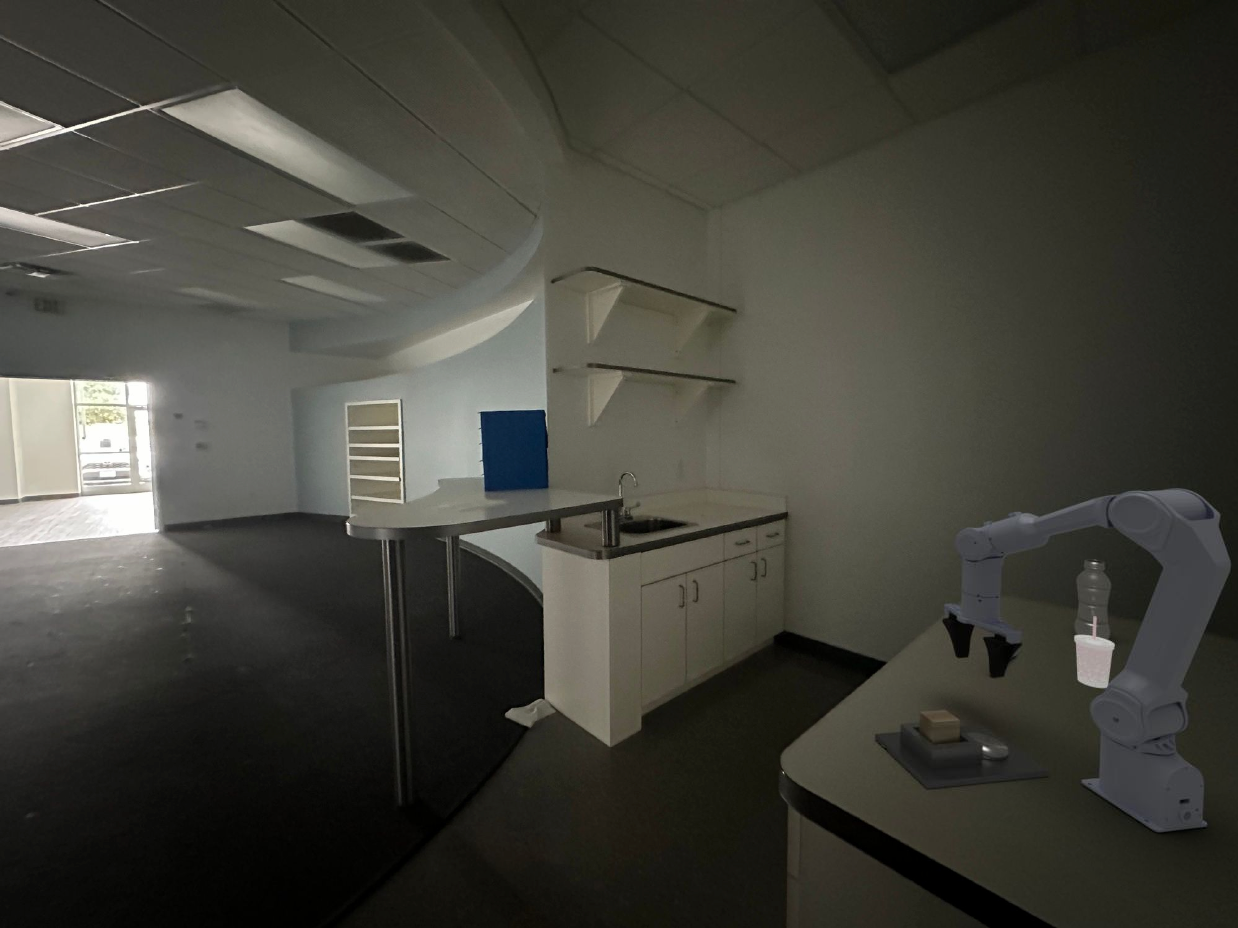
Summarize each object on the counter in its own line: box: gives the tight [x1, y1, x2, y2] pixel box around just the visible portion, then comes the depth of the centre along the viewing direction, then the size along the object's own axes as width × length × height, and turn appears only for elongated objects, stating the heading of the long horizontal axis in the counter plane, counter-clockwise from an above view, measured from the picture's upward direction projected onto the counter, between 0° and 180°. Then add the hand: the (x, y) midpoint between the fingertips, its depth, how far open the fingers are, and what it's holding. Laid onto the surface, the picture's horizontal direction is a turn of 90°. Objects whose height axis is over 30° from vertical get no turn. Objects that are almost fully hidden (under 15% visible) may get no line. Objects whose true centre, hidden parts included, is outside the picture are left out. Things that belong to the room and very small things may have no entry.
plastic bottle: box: [1074, 559, 1112, 640], centre depth 124 cm, size 6×7×20 cm
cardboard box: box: [919, 709, 961, 745], centre depth 79 cm, size 3×4×6 cm, turn 97°
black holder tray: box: [874, 721, 1050, 790], centre depth 79 cm, size 12×20×4 cm, turn 97°
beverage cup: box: [1073, 616, 1115, 689], centre depth 103 cm, size 6×6×14 cm
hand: (978, 666), depth 91 cm, fingers open, 7 cm apart
